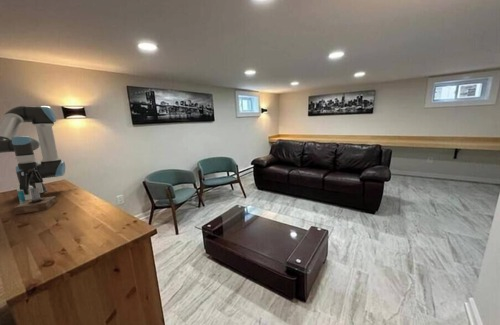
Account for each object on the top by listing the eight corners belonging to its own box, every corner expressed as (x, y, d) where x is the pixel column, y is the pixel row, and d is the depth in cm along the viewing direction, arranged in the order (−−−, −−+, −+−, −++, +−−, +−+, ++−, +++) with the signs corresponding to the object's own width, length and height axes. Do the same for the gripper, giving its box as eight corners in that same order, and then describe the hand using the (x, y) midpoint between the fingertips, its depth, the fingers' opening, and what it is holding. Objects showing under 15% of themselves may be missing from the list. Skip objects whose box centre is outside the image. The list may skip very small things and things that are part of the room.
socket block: (28, 205, 131) (27, 199, 131) (57, 201, 137) (55, 195, 136) (15, 214, 119) (13, 207, 118) (47, 209, 124) (45, 203, 124)
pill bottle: (28, 204, 133) (22, 184, 130) (16, 205, 133) (11, 185, 130) (39, 200, 140) (35, 181, 137) (29, 200, 140) (24, 181, 138)
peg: (35, 206, 129) (30, 188, 127) (43, 205, 131) (39, 187, 128) (32, 209, 125) (27, 190, 123) (40, 207, 127) (36, 189, 125)
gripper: (29, 159, 132) (37, 191, 136) (4, 166, 110) (14, 204, 114) (45, 158, 135) (52, 189, 139) (23, 165, 113) (32, 201, 117)
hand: (35, 196), depth 126 cm, fingers open, 13 cm apart
